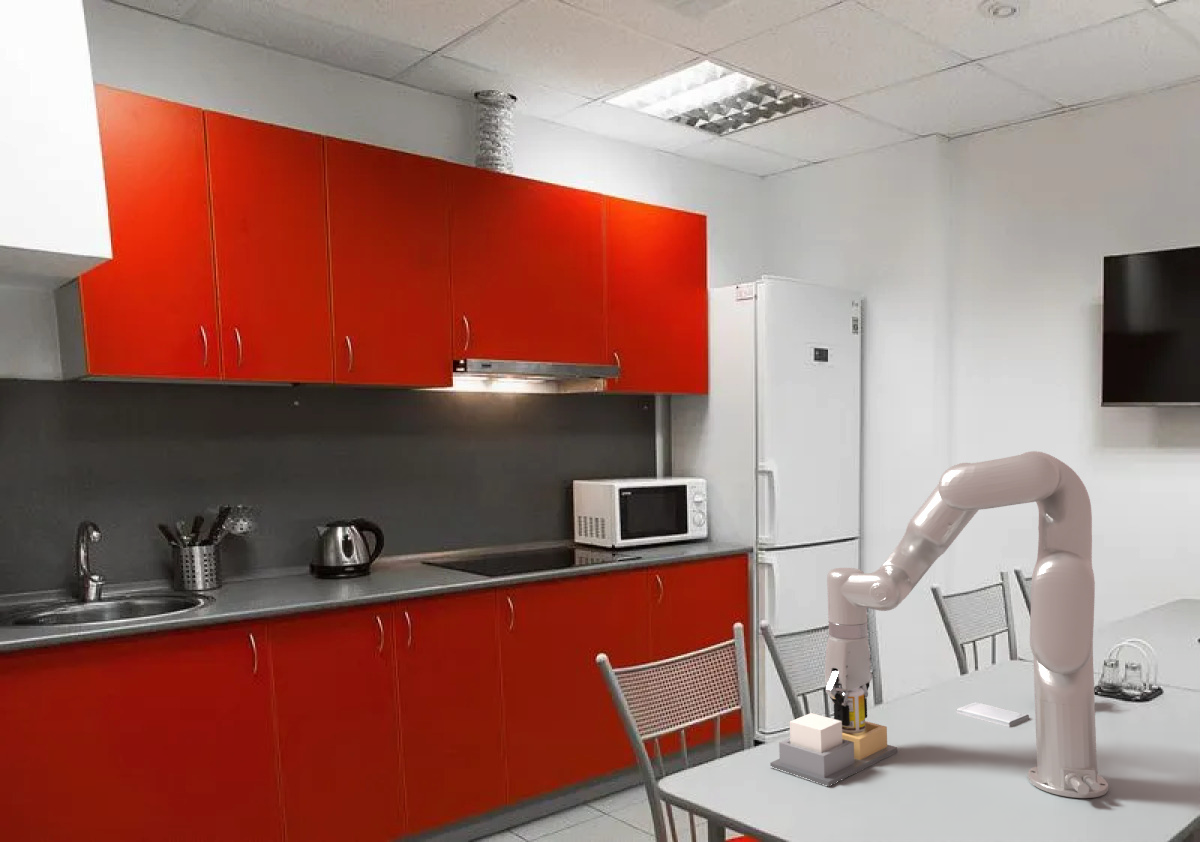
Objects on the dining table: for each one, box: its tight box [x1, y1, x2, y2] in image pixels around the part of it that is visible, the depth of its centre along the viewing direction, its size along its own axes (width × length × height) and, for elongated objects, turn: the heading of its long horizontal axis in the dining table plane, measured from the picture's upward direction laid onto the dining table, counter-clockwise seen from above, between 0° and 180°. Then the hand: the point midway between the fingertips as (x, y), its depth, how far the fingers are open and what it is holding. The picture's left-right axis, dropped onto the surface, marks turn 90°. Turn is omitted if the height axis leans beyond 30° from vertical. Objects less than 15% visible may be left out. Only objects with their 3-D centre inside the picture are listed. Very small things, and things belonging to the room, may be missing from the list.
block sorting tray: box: [770, 712, 898, 787], centre depth 169 cm, size 24×13×9 cm, turn 132°
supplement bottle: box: [839, 685, 866, 733], centre depth 173 cm, size 6×6×10 cm
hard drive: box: [956, 701, 1030, 728], centre depth 192 cm, size 2×8×12 cm
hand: (850, 719), depth 173 cm, fingers closed on supplement bottle, 5 cm apart
